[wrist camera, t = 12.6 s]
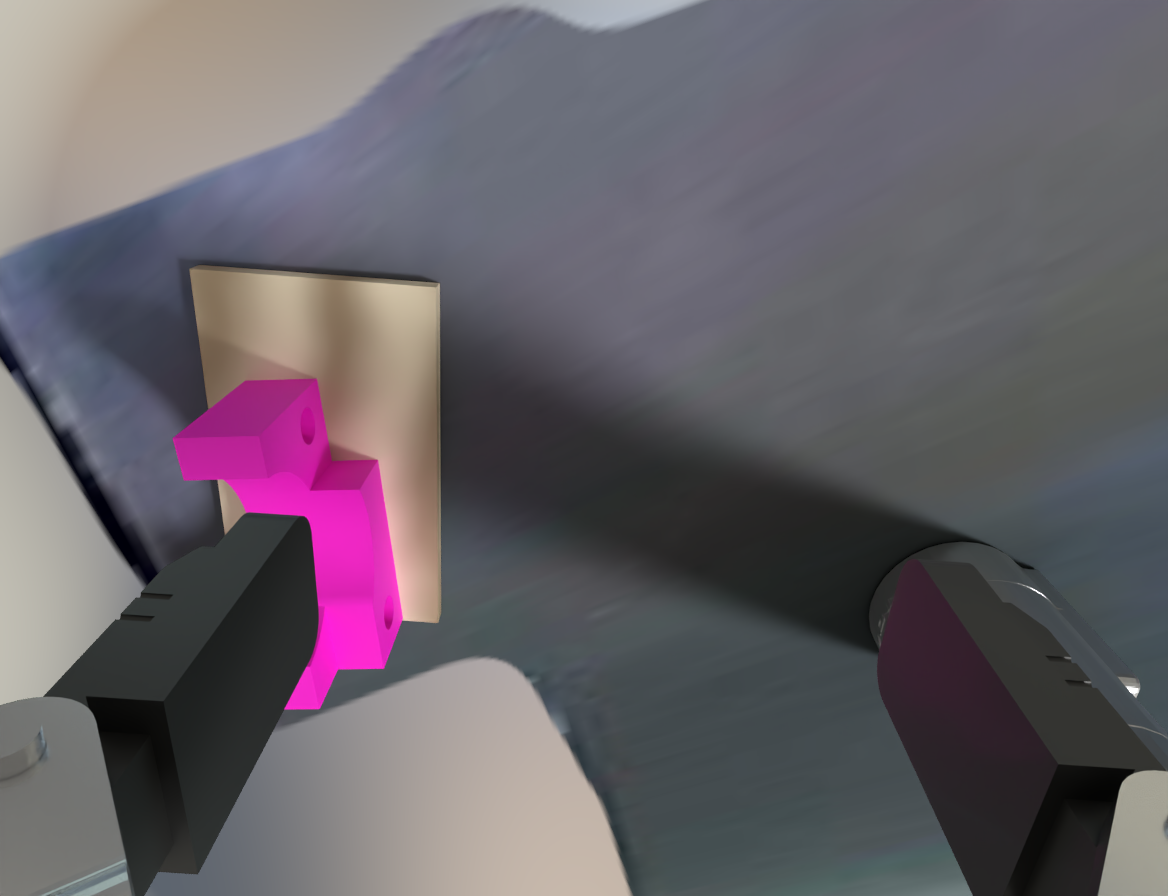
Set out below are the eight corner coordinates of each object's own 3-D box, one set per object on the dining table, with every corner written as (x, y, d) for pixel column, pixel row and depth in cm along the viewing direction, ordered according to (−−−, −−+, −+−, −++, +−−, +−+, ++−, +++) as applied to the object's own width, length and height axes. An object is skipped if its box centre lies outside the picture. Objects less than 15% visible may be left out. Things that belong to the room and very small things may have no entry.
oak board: (439, 283, 39) (436, 287, 38) (441, 612, 47) (437, 623, 46) (199, 264, 39) (189, 268, 38) (242, 598, 47) (234, 608, 46)
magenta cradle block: (402, 617, 46) (368, 708, 39) (298, 619, 46) (246, 709, 40) (365, 377, 40) (316, 434, 33) (245, 380, 40) (172, 438, 34)
